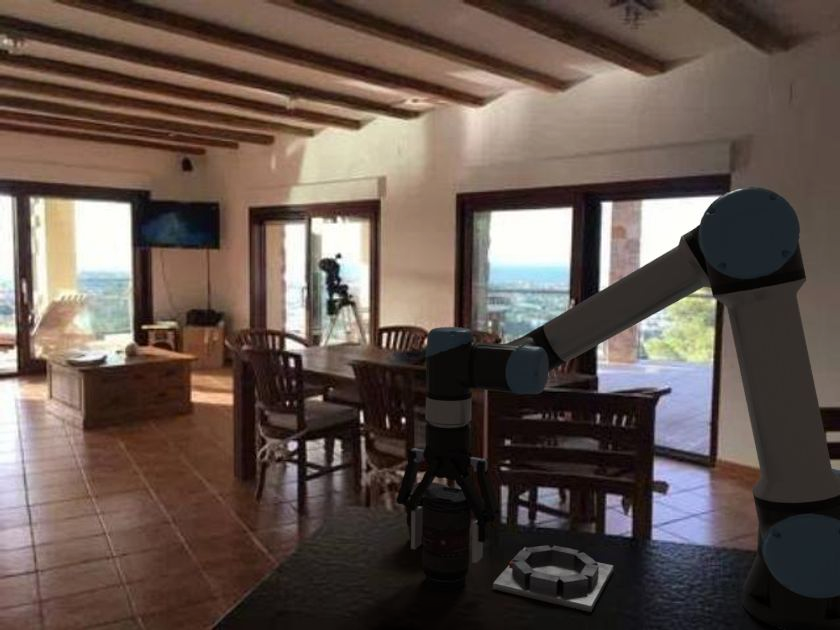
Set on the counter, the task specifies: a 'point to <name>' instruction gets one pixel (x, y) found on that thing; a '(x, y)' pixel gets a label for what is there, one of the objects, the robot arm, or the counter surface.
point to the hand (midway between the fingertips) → (446, 552)
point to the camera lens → (445, 537)
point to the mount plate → (556, 598)
